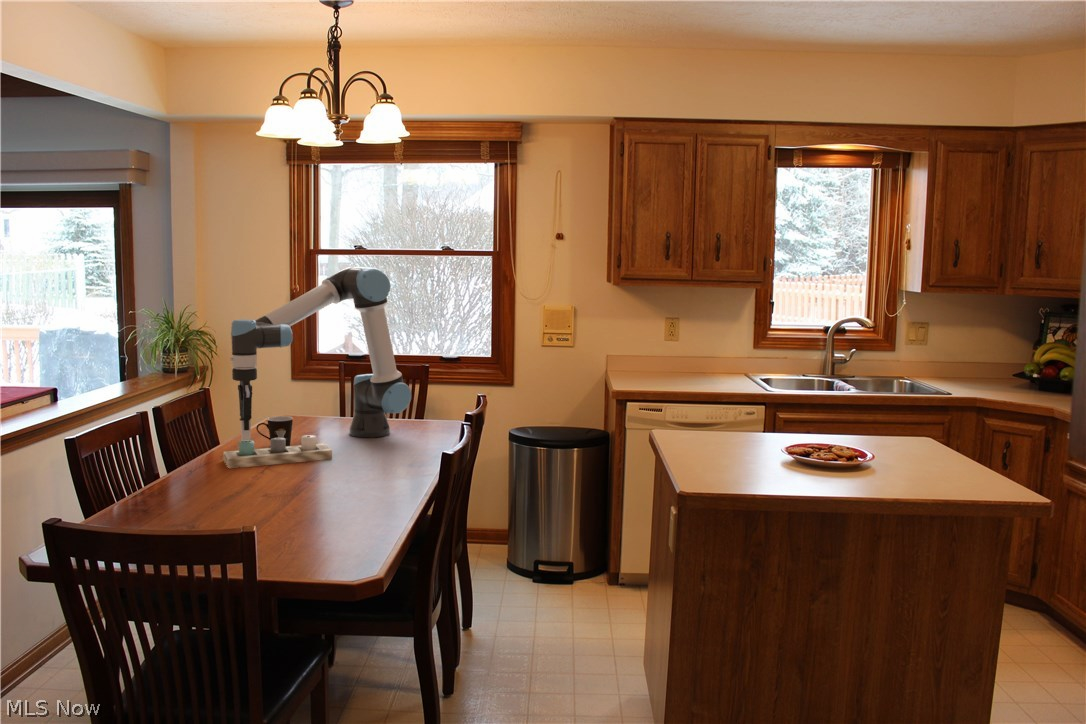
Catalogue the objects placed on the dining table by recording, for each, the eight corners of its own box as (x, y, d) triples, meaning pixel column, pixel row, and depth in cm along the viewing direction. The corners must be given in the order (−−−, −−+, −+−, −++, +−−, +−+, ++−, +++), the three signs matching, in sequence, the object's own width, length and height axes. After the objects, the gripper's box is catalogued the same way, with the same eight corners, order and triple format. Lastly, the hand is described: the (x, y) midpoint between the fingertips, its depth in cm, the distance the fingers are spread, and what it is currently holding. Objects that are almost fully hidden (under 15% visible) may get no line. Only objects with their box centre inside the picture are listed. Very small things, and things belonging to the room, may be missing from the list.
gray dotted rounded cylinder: (284, 450, 284) (284, 436, 284) (287, 453, 280) (286, 439, 279) (269, 451, 282) (269, 437, 281) (272, 454, 278) (271, 440, 277)
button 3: (253, 452, 280) (252, 438, 279) (255, 456, 275) (255, 442, 275) (237, 454, 277) (237, 440, 277) (240, 457, 273) (239, 443, 273)
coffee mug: (297, 444, 304) (296, 416, 303) (287, 449, 295) (287, 421, 294) (265, 442, 305) (265, 415, 304) (255, 448, 297) (254, 420, 295)
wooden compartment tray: (324, 451, 294) (324, 443, 293) (332, 458, 284) (332, 450, 284) (223, 460, 278) (223, 451, 278) (228, 468, 269) (227, 459, 268)
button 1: (314, 447, 289) (314, 434, 288) (317, 450, 285) (317, 437, 284) (300, 448, 287) (299, 435, 286) (303, 451, 282) (302, 438, 282)
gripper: (229, 365, 277) (231, 436, 280) (235, 370, 265) (236, 444, 268) (253, 364, 280) (254, 434, 283) (260, 369, 269) (261, 442, 272)
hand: (246, 439), depth 276 cm, fingers closed
